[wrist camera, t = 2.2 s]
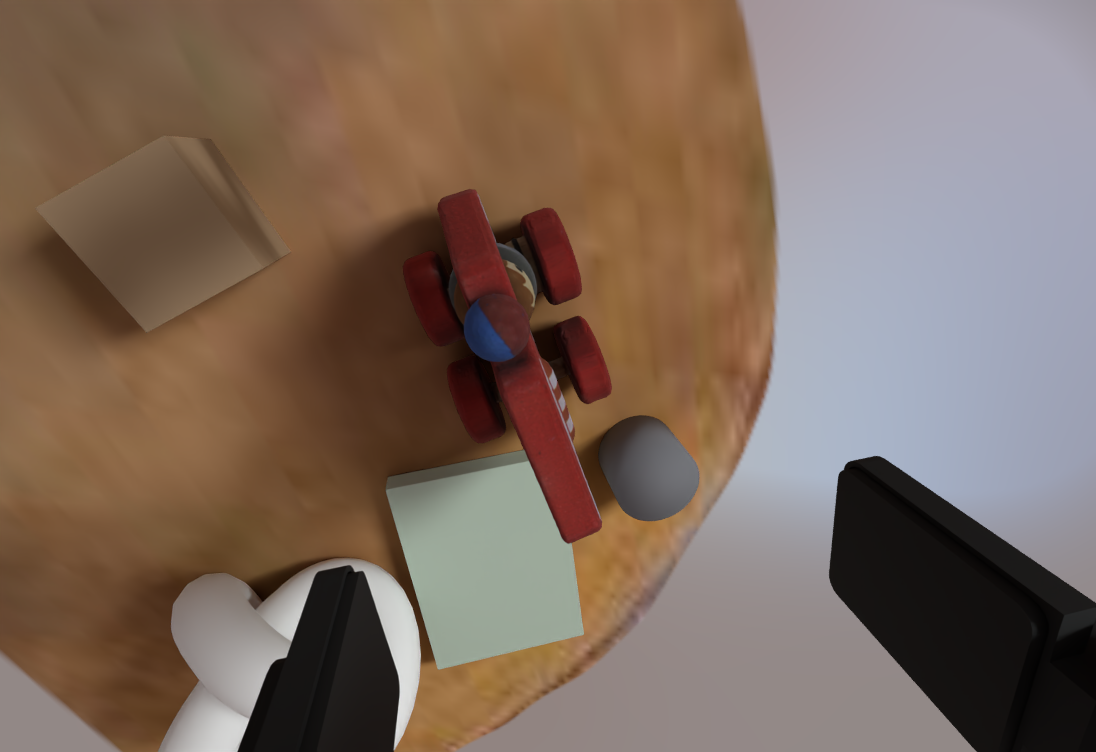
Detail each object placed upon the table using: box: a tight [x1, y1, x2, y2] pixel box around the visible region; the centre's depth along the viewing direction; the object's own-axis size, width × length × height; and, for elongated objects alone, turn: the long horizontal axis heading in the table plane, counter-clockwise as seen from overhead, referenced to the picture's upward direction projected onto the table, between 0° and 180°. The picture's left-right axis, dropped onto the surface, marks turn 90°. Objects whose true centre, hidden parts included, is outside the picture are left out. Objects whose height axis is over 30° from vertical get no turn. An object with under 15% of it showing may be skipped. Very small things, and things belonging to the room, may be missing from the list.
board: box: [386, 450, 584, 670], centre depth 31 cm, size 13×9×1 cm
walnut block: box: [35, 136, 291, 333], centre depth 21 cm, size 5×5×4 cm
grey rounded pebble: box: [598, 416, 699, 521], centre depth 29 cm, size 4×4×4 cm
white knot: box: [158, 557, 421, 752], centre depth 26 cm, size 11×12×9 cm
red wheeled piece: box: [403, 189, 612, 544], centre depth 21 cm, size 7×12×10 cm, turn 19°
